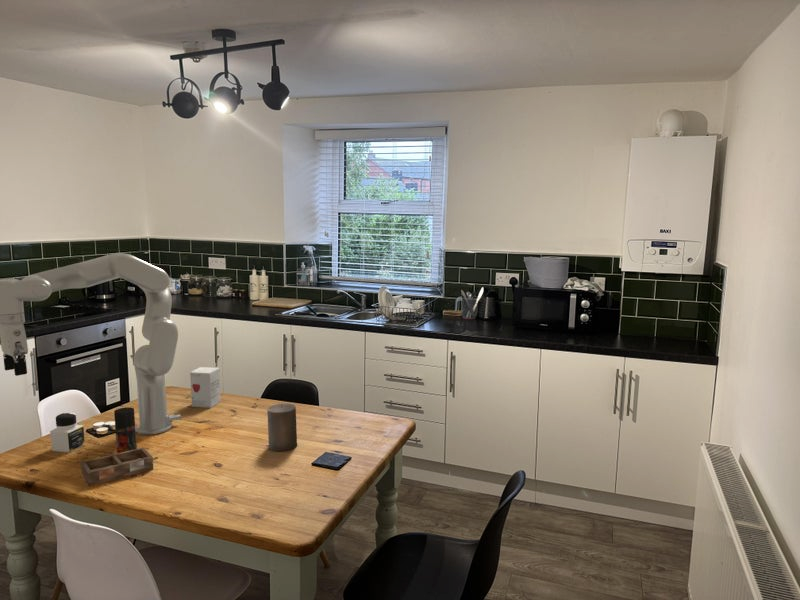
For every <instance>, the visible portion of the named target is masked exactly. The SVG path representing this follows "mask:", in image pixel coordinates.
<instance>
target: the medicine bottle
mask: <svg viewBox="0 0 800 600" xmlns="http://www.w3.org/2000/svg"><path fill="white" fill-rule="evenodd" d="M77 421H78V419H77V414H76V413H74V412H70V411H69V412H63V413H59V414H57V415H56V416H55V427H56V428H54V429H51V430H50V432H49V433H50V443H51V444H50V445H51V451H52V452H60V453H72V452H74V451H75V450H77V449H79V448H81V447H84V446H85V445H86V442H85V441H86V440H85V432H84V425H82V424H78V422H77Z"/></svg>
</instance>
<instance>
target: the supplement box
mask: <svg viewBox="0 0 800 600" xmlns="http://www.w3.org/2000/svg"><path fill="white" fill-rule="evenodd" d="M220 370H221V369H220V367H210V366H209V367H206V366H200V367H198V368H196V369H194V370H192V371H190V373H189V376H190V395H191V397H190V398H191V407H192V408H205V409H207V408H209V409H212V408H213V407H215V406H217V404H220V402H221V400H222V399H221V375H220V374H221V373H220Z"/></svg>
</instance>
